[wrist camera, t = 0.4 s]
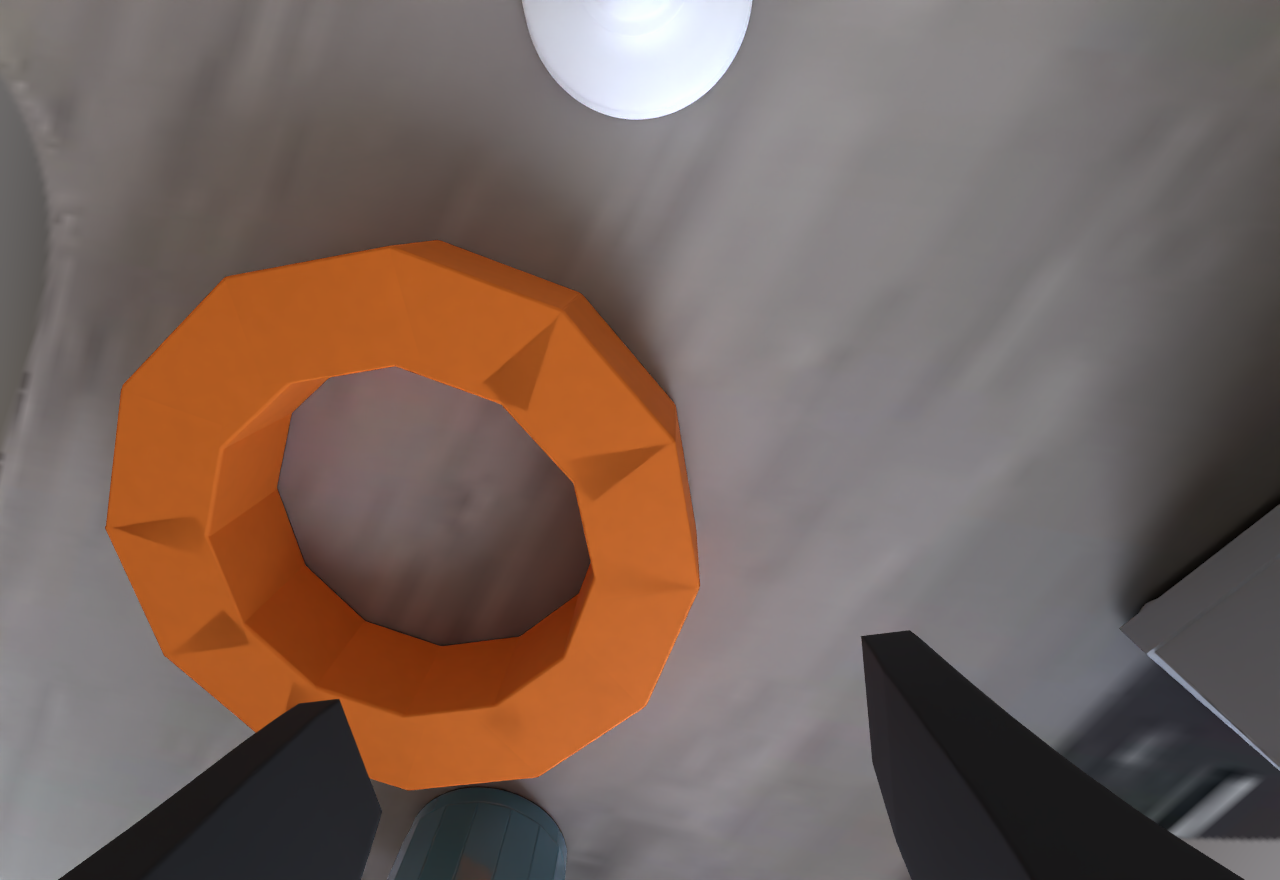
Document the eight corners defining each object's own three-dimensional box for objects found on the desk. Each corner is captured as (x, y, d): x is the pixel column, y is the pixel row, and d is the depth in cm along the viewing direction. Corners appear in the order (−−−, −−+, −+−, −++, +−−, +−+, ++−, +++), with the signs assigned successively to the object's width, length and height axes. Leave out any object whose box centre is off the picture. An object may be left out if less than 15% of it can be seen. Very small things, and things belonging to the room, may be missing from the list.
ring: (292, 730, 21) (234, 809, 19) (116, 300, 17) (6, 317, 14) (721, 681, 20) (728, 758, 17) (641, 201, 16) (634, 199, 13)
